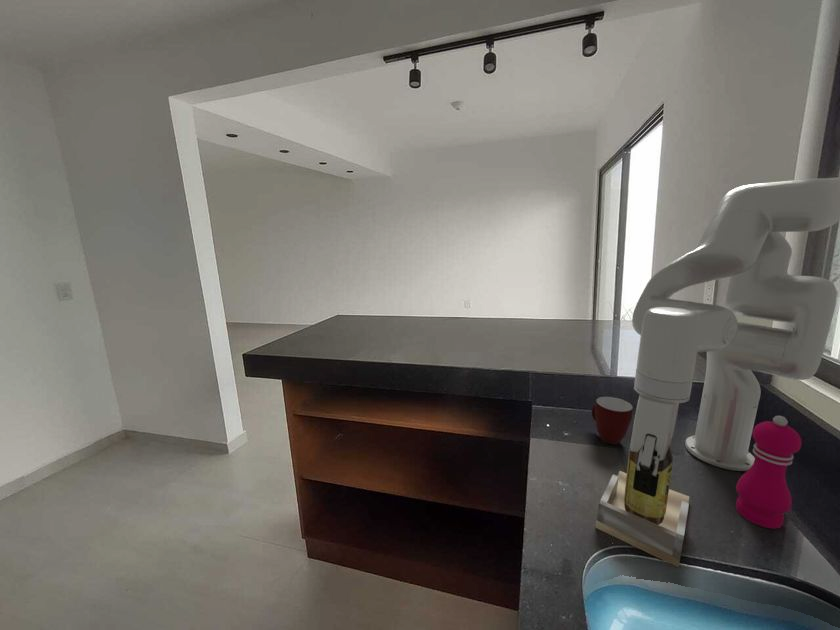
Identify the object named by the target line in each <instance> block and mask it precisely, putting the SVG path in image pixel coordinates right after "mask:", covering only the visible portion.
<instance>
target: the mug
mask: <svg viewBox="0 0 840 630" xmlns="http://www.w3.org/2000/svg"><path fill="white" fill-rule="evenodd" d="M633 411H634V406H633V405H632V404H631V403H630V402H629V401H626V399H625V400H624V399H622V398H618V397H614V396H613V397H612V396H600V397H598V398H596V400H595V404H594V405H593V406H592V408H591V416H592V419H593V420H594V421H595V425H596V427H595V428H596V430H597V431H596V432H597V433H598V436H599V438H600V440H601V441H602V442H603V443H605V444H608V445H615V446H616V445H618V444H619V443H621V442H622V440H623V439H624V438H625V437H626V435H627V433H628V430H629V427H630V424H631V421H632V417H633Z"/></svg>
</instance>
